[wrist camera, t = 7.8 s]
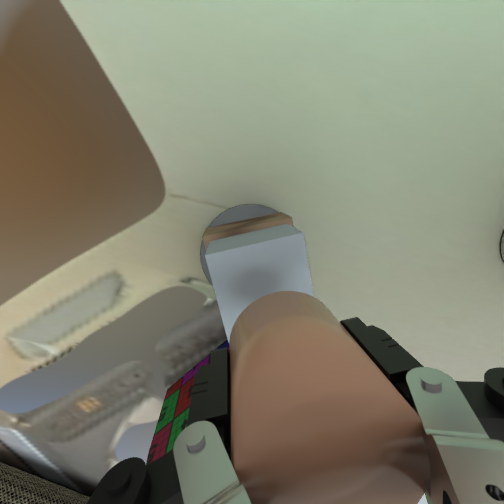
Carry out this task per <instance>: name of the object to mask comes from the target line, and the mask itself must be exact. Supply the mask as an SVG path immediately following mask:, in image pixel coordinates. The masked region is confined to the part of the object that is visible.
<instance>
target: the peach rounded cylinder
mask: <svg viewBox="0 0 504 504" xmlns="http://www.w3.org/2000/svg"><path fill="white" fill-rule="evenodd" d="M229 357H230V419H231V464H232V466H233V468H234V471H235V473H236V475H237V478H238V480H239V482H241V483H242V484H243V486H244V488H245V490H246V493H247V495H248V497H249V499H250V502H251V504H417V503H418V502H419V500H420V499H421V498H422V496H423V495H424V493H425V487H424V480H427V479H431V477H430V462H429V456H428V452H427V448H426V445H425V442H424V439H423V437H422V419H421V418H420V417H419V415H418V414H417V413H416V412H415V411H414V409H413V408H412V407H411V406H410V405H409V404H408V402H407V401H406V400H405V399H404V398H403V396H402V395H401V394H400V393H399V392H398V391H397V389H396V388H395V387H394V386H393V385H392V383H391V382H390V381H389V380H388V379H387V378H386V376H385V375H384V374H383V373H382V372H381V370H380V369H379V368H378V367H377V366H376V365H375V363H374V362H373V361H372V360H371V359H370V357H369V356H368V355H367V354H366V353H365V352H364V350H363V349H362V348H361V347H360V346H359V344H358V343H357V342H356V341H355V340H354V339H353V337H352V336H351V335H350V334H349V333H348V331H347V330H346V329H345V328H344V327H343V326H342V324H341V323H340V322H339V321H338V320H337V318H336V317H335V316H334V315H333V314H332V313H331V311H330V310H329V309H328V308H327V307H326V306H325V305H324V304H323V303H322V302H321V301H319V300H318V299H317V298H315V297H313V296H311V295H308V294H305V293H302V292H297V291H280V292H274V293H271V294H267V295H265V296H263V297H260V298H259V299H257V300H255V301H254V302H252V303H251V304H250V305H248V306H247V307H246V308H245V309H244V310H243V311H242V312H241V314H240V315H239V316H238V318H237V319H236V321H235V323H234V325H233V328H232V330H231V334H230V340H229Z"/></svg>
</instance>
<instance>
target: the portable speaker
mask: <svg viewBox="0 0 504 504" xmlns="http://www.w3.org/2000/svg"><path fill="white" fill-rule="evenodd" d="M89 499H90V497H88V496H85V495H83V494H81V493H78V492H75V491H73V490H71V489H68V488H65V487H63V486H60V485H58V484H55V483H52V482H50V481H48V480H45V479H42V478H40V477H37V476H35V475H32V474H30V473H27V472H25V471H22V470H19V469H17V468H15V467H12V466H9V465H7V464H4V463H1V462H0V504H87V502H88V501H89Z"/></svg>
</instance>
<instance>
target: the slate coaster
mask: <svg viewBox="0 0 504 504" xmlns="http://www.w3.org/2000/svg"><path fill="white" fill-rule="evenodd" d="M275 213H279V212H277V211H275V210H273V209H271V208H269V207H266V206H262V205H257V204H245V205H239V206H235V207H233V208H230V209H228V210H226V211H225V212H223V213H222V214H220V215H219V216H218V217H217V218H216V219H215V220H214V221H213V222H212V223H211V225H210V226H209V227H208V228H210V227H214V226H219V225H224V224H228V223H233V222H237V221H242V220H247V219H251V218H256V217H261V216H265V215H270V214H275ZM205 254H206V249H205V245H204V241H203V240H202V245H201V253H200V255H201V264H202V268H203V271H204V273H205V275H206V277H207V279H208V281H209V282H210V283H211V285H212V286H213V284H212V280H211V276H210V273H209V269H208V265H207V261H206V258H205Z"/></svg>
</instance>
